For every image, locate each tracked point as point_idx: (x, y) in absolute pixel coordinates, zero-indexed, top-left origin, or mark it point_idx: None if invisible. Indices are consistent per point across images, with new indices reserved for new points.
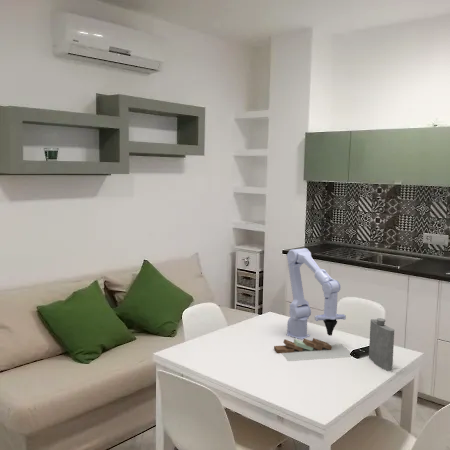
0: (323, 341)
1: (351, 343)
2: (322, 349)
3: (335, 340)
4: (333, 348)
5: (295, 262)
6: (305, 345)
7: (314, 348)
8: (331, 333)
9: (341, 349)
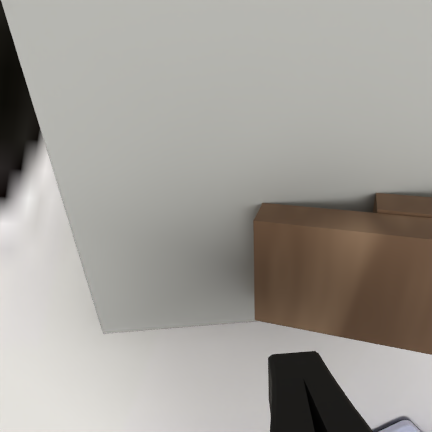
0: (313, 331)
1: (3, 349)
2: None
3: (135, 403)
4: (218, 240)
5: None
6: None
7: None
8: (288, 379)
9: (138, 208)
